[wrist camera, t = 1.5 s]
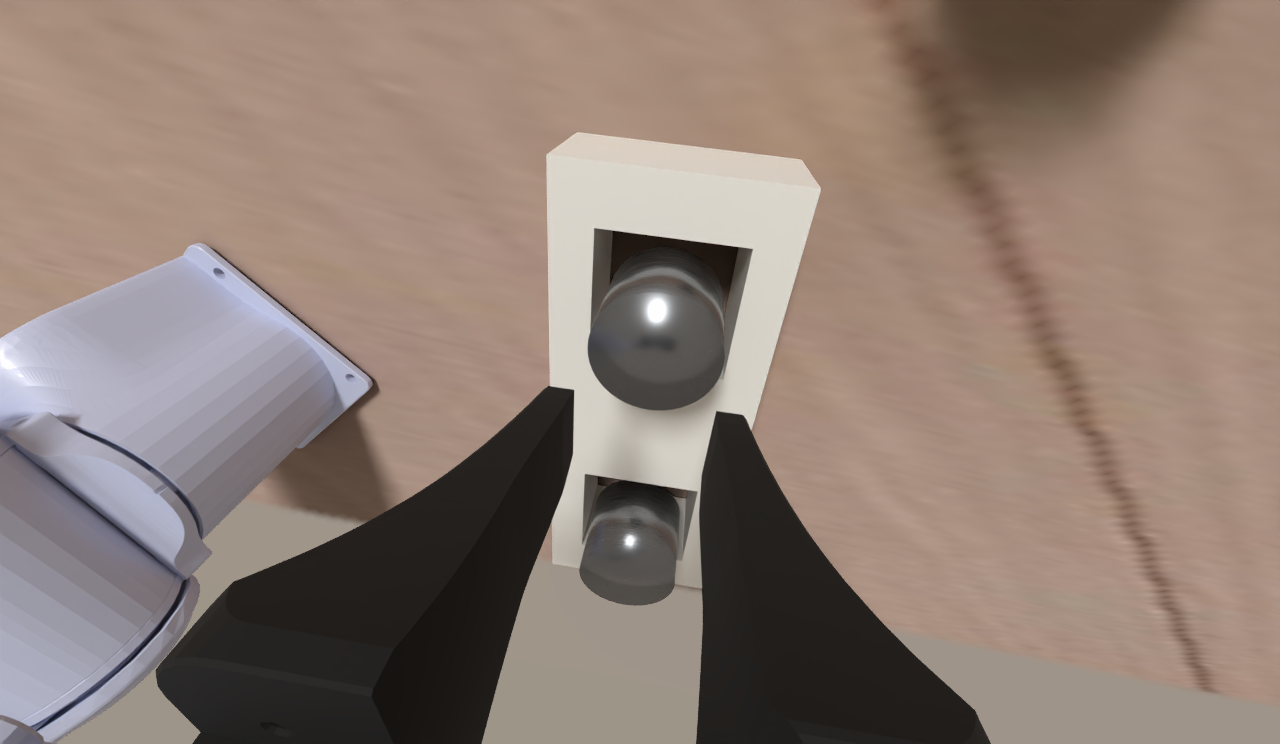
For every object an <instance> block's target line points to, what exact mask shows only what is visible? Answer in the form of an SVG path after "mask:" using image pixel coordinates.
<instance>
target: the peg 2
mask: <svg viewBox="0 0 1280 744" xmlns="http://www.w3.org/2000/svg"><path fill="white" fill-rule="evenodd" d="M679 518H680V509H679V505H678V503H677V501H676V500H675V498H674V497H673V496H672V495H671V494H670V493H669V492H668V491H666V490H665V489H663V488H662V487H660V486H658V485H653V484H646V483H640V482H634V481H627V480H623V481H618V482H615V483H613V484H610V485H609V486H607V487H605V488H604V489H603V490H602V491H601V492H600V494H599V495H598V498H597V501H596V505H595V509H594V513H593V517H592V521H591V524H590V528H589V532H588V536H587V540H586V544H585V548H584V552H583V556H582V560H581V564H580V569H579V570H580V576H581V579H582V581H583V582H584V584H585V585H586V586H587V587H588V588H589V589H590V590H591V591H592V592H594V593H595V594H597V595H599V596H600V597H602V598H604V599H607V600H609V601H613V602H616V603H620V604H625V605H647V604H652V603H655V602H658V601H661V600H663V599H664V598H666V597H667V596H668V595H669V594H670V593H671V592H672V590H673V588H674V585H675V572H676V559H677V545H678V531H679Z"/></svg>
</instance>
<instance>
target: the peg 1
mask: <svg viewBox="0 0 1280 744" xmlns="http://www.w3.org/2000/svg"><path fill="white" fill-rule="evenodd" d="M587 347H588V358H589V363H590V366H591V368H592V371H593V373H594V375H595V376H596V378H597V379H598V381H599V382H600V383H601V385H602V386H603V387H604V388H605V389H606V390H607V391H608V392H609V393H611V394H612V395H613V396H615V397H616V398H618V399H619V400H621V401H623V402H625V403H627V404H630V405H632V406H635V407H638V408H642V409H647V410H656V411H660V410H673V409H678V408H682V407H685V406H688V405H690V404H692V403H694V402H696V401H698V400H699V399H701V398H702V397H704V396H705V395H706V394H707V393H708V392H709V391H710V390H711V389H712V388H713V387H714V386H715V384H716V383H717V381H718V379H719V377H720V375H721V373H722V370H723V366H724V359H725V352H724V318H723V294H722V288H721V285H720V282H719V280H718V278H717V276H716V274H715V273H714V271H713V270H712V269H711V267H710V266H709V265H708V264H707V263H706V262H705V261H703V260H702V259H701V258H700V257H698V256H696V255H695V254H693V253H691V252H689V251H686V250H683V249H680V248H675V247H665V246H663V247H653V248H648V249H645V250H642V251H640V252H638V253H636V254H634V255H632V256H631V257H629V258H628V259H627V260H626V261H625V262H623V263H622V265H621V266H620V267H619V268H618V270H617V271H616V273H615V274H614V277H613V279H612V281H611V283H610V286H609V288H608V291H607V293H606V295H605V298H604V300H603V303H602V305H601V307H600V310H599V312H598V315H597V317H596V319H595V322H594V324H593V327H592V329H591V331H590V335H589V339H588V346H587Z"/></svg>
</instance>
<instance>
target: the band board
mask: <svg viewBox="0 0 1280 744" xmlns="http://www.w3.org/2000/svg"><path fill="white" fill-rule="evenodd" d="M820 191H821V188H820V186H819V185H818V183H817V182H816V180H815V179H814V178H813V176H812V175H811V173H810V172H809V170H808V169H807V167H806V166H805V164H804V163H803V161H802V160H801V159H793V158H785V157H777V156H769V155H760V154H752V153H744V152H736V151H728V150H719V149H711V148H703V147H695V146H687V145H678V144H670V143H662V142H654V141H646V140H637V139H629V138H621V137H613V136H605V135H596V134H588V133H580V132H577V133H575V134H574V135H573V136H571V137H570V138H569V139H567V140H566V141H564V142H563V143H562V144H560V145H559V146H558V147H556V148H555V149H553V150H552V151H551V152H549V153H548V154H547V221H548V287H549V354H550V386H552V387H558V388H565V389H572V390H574V432H573V456H572V460H571V464H570V468H569V472H568V476H567V479H566V483H565V487H564V490H563V493H562V496H561V498H560V501H559V504H558V506H557V509H556V511H555V514H554V516H553V519H552V553H553V564H556V565H563V566H568V567H574V568H580V564H581V560H582V556H583V552H584V548H585V544H586V540H587V536H588V532H589V528H590V524H591V521H592V517H593V513H594V509H595V505H596V501H597V498H598V495H599V494H600V492H601V491H602V490H603V489H604V488H605V487H607V486H602V485H597V484H598V476H602V477H608V478H615V479H621V480H627V481H634V482H640V483H646V484H653V485H659V486H666V487H672V488H678V489H685V490H688V491H687V496H686V499H684V498H678V497H674V498H675V500H676V501H677V503H678V505H679V509H680V518H679V531H678V545H677V559H676V572H675V584H676V585H682V586H688V587H694V588H700V589H702V575H701V552H700V528H699V506H700V492H701V478H702V471H703V467H704V462H705V458H706V454H707V449H708V445H709V440H710V436H711V432H712V427H713V423H714V419H715V414H716V411H720V412H727V413H734V414H740V415H743V416H744V417H745V418H746V420H747V422H748V424H749V427H750V429H751V430H752V427H753V423H754V420H755V416H756V413H757V410H758V406H759V403H760V399H761V396H762V392H763V389H764V385H765V382H766V378H767V375H768V371H769V368H770V364H771V361H772V357H773V354H774V350H775V347H776V344H777V340H778V337H779V333H780V330H781V326H782V323H783V319H784V316H785V312H786V309H787V305H788V302H789V298H790V295H791V291H792V288H793V284H794V281H795V278H796V274H797V271H798V267H799V264H800V260H801V257H802V253H803V250H804V246H805V243H806V239H807V236H808V232H809V229H810V225H811V222H812V218H813V215H814V212H815V208H816V205H817V201H818V198H819V194H820ZM613 231H621V232H628V233H636V234H643V235H651V236H659V237H666V238H674V239H681V240H689V241H697V242H704V243H712V244H720V245H727V246H735V247H739V249H738V254H737V259H736V263H735V268H734V273H733V278H732V282H731V287H730V292H729V297H728V301H727V306H726V311H725V316H724V352H725V359H724V366H723V370H722V373H721V375H720V377H719V379H718V381H717V383H716V384H715V386H714V387H713V388H712V389H711V390H710V391H709V392H708V393H707V394H706V395H705V396H704V397H702V398H701V399H699V400H698V401H696V402H694V403H692V404H690V405H688V406H685V407H682V408H678V409H673V410H660V411H656V410H647V409H642V408H638V407H635V406H632V405H630V404H627V403H625V402H623V401H621V400H619V399H618V398H616V397H615V396H613V395H612V394H611V393H609V392H608V391H607V390H606V389H605V388H604V387H603V386H602V385H601V383H600V382H599V381H598V379H597V378H596V376H595V375H594V373H593V371H592V368H591V366H590V363H589V358H588V347H587V346H588V339H589V335H590V331H591V329H592V327H593V324H594V322H595V319H596V317H597V315H598V312H599V310H600V307H601V305H602V303H603V300H604V298H605V295H606V293H607V291H608V288H609V286H610V270H611V253H612V237H613Z"/></svg>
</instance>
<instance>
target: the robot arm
mask: <svg viewBox="0 0 1280 744" xmlns="http://www.w3.org/2000/svg"><path fill="white" fill-rule="evenodd" d="M221 270H222V271H223V272H224V273H223V272H222V271H221ZM352 375H353V376H354V377H353V376H352ZM372 386H373V384H372V381H371V379H370V378H369V377H368V376H367V375H366V374H365V373H363V372H362V371H361V370H360V369H359V368H357V367H356V366H355V365H354V364H352V363H351V362H350V361H349V360H347V359H346V358H345V357H344V356H342V355H341V354H340V353H339V352H338V351H336V350H335V349H334V348H333V347H331V346H330V345H329V344H328V343H326V342H325V341H324V340H323V339H322V338H320V337H319V336H318V335H317V334H315V333H314V332H313V331H312V330H310V329H309V328H308V327H307V326H306V325H304V324H303V323H302V322H301V321H299V320H298V319H297V318H296V317H294V316H293V315H292V314H291V313H290V312H288V311H287V310H286V309H285V308H283V307H282V306H281V305H280V304H278V303H277V302H276V301H275V300H274V299H272V298H271V297H270V296H269V295H267V294H266V293H265V292H264V291H262V290H261V289H260V288H259V287H258V286H256V285H255V284H254V283H253V282H251V281H250V280H249V279H248V278H246V277H245V276H244V275H243V274H241V273H240V272H239V271H238V270H237V269H235V268H234V267H233V266H232V265H230V264H229V263H228V262H227V261H225V260H224V259H223V258H222V257H221V256H219V255H218V254H217V253H216V252H214V251H213V250H212V249H211V248H209V247H208V246H206V245H205V244H202V243H196V244H193V245H191V246H189V247H188V248H187V250H186V251H185V253H184V255H183V256H181V257H178V258H176V259H174V260H171V261H169V262H167V263H164V264H162V265H159V266H157V267H155V268H152V269H150V270H147V271H145V272H143V273H140V274H138V275H136V276H133V277H131V278H128V279H126V280H124V281H121V282H119V283H116V284H114V285H112V286H109V287H107V288H105V289H102V290H100V291H97V292H95V293H93V294H90V295H88V296H85V297H83V298H81V299H78V300H76V301H74V302H71V303H69V304H66V305H64V306H62V307H59V308H57V309H54V310H52V311H50V312H48V313H46V314H43V315H41V316H39V317H37V318H35V319H33V320H31V321H29V322H28V323H26V324H24V325H22V326H20V327H19V328H17V329H15V330H13V331H12V332H10V333H8V334H7V335H5V336H3V337H2V338H0V744H56V743H57V742H58V741H60V740H61V739H63V738H64V737H65V736H67V735H68V734H69V733H71V732H72V731H74V730H75V729H77V728H79V727H81V726H82V725H84V724H86V723H87V722H89V721H91V720H92V719H94V718H95V717H97V716H98V715H100V714H101V713H103V712H104V711H106V710H107V709H108V708H110V707H111V706H112V705H114V704H115V703H116V702H118V701H119V700H120V699H121V698H123V697H124V696H125V695H126V694H127V693H129V692H130V691H131V690H132V689H133V688H134V687H136V685H138V684H139V683H140V682H141V681H142V680H143V679H144V678H145V677H146V676H147V675H148V674H149V673H150V672H151V671H152V670H153V669H154V668H155V667H156V666H157V665H158V664H159V663H160V662H161V661H162V660H163V658H164V657H165V656H166V655H167V654H168V653H169V652H170V650H171V649H172V648H173V647H174V645H175V644H176V643H177V641H178V640H179V638H180V637H181V635H182V634H183V632H184V631H185V629H186V627H187V625H188V623H189V621H190V619H191V616H192V613H193V611H194V608H195V606H196V604H197V601H198V597H199V593H200V584H199V583H198V581H197V579H196V577H194V576H193V575H192V574H193V573H194V572H195V571H196V570H197V569H198V568H199V567H200V566H201V564H203V563H204V561H205V560H206V559H207V558H208V557H209V556H210V555H211V554H212V551H211V550H210V549H209V548H208V547H207V546H206V545H205V544H204V543H203V541H202V540H203V539H204V538H205V537H206V536H207V535H208V534H209V533H210V532H211V531H212V530H213V529H214V528H215V527H216V526H217V525H218V524H219V523H220V522H221V521H222V520H223V519H224V518H225V517H226V516H227V515H228V514H229V513H230V512H231V511H232V510H233V509H234V508H235V507H236V506H237V505H238V504H239V503H240V502H241V501H242V500H243V499H244V498H245V497H246V496H247V495H248V494H249V493H250V492H251V491H252V490H253V489H254V488H255V487H256V486H257V485H258V484H259V483H260V482H261V481H262V480H263V479H264V478H265V477H266V476H268V475H269V474H270V473H271V472H272V471H273V470H274V469H275V468H276V467H277V466H278V465H279V464H280V463H281V462H282V461H283V460H284V459H285V458H286V457H287V456H288V455H289V454H290V453H291V452H292V451H293V450H294V449H295V448H304V447H305V446H306V445H307V444H308V443H309V442H310V441H312V440H313V439H314V438H315V437H316V436H317V435H318V434H319V433H321V432H322V431H323V430H324V429H325V428H326V427H327V426H329V425H330V424H331V423H332V422H333V421H334V420H335V419H337V418H338V417H339V416H340V415H341V414H342V413H343V412H345V411H346V410H347V409H348V408H349V407H350V406H351V405H353V404H354V403H355V402H356V401H357V400H358V399H359V398H361V397H362V396H363V395H364V394H365V393H366V392H367V391H368V390H369V389H370V388H371V387H372ZM573 432H574V390H572V389H565V388H558V387H552V386H548V387H547V388H545V389H544V390H543V391H542V392H541V393H540V394H539V395H538V396H537V397H536V398H535V399H534V400H533V401H532V402H531V403H530V404H529V405H528V406H527V407H526V408H524V409H523V410H522V411H521V412H520V413H519V414H518V415H517V416H516V417H515V418H514V419H513V420H512V421H511V422H509V423H508V424H507V425H506V426H505V427H504V428H503V429H502V430H500V431H499V432H498V433H497V434H496V435H495V436H494V437H492V438H491V439H490V440H489V441H488V442H487V443H485V444H484V445H483V446H482V447H480V448H479V449H478V450H477V451H475V452H474V453H473V454H472V455H470V456H469V457H468V458H466V459H465V460H464V461H463V462H461V463H460V464H459V465H458V466H456V467H455V468H453V469H452V470H451V471H449V472H448V473H447V474H445V475H444V476H442V477H441V478H439V479H438V480H437V481H435V482H434V483H432V484H431V485H429V486H428V487H426V488H425V489H423V490H422V491H420V492H418V493H417V494H415V495H414V496H412V497H410V498H409V499H407V500H405V501H404V502H402V503H400V504H399V505H397V506H395V507H393V508H392V509H390V510H388V511H386V512H385V513H383V514H381V515H379V516H378V517H376V518H374V519H372V520H371V521H369V522H367V523H365V524H363V525H361V526H359V527H357V528H355V529H353V530H351V531H349V532H347V533H345V534H343V535H341V536H339V537H337V538H335V539H333V540H331V541H329V542H326V543H325V544H322V545H320V546H318V547H316V548H314V549H311V550H309V551H307V552H305V553H302V554H300V555H298V556H296V557H293V558H291V559H288V560H286V561H283V562H281V563H279V564H276V565H274V566H271V567H269V568H267V569H264V570H262V571H259V572H257V573H255V574H252V575H250V576H247V577H245V578H242V579H240V580H237V581H234V582H233V583H232V584H231V585H230V586H229V587H228V588H227V589H226V590H225V591H224V592H223V593H222V594H221V595H220V596H219V597H218V598H217V599H216V601H215V602H214V603H213V604H212V605H211V606H210V607H209V608H208V609H207V610H206V612H205V613H204V614H203V615H202V616H201V617H200V619H199V620H198V621H197V622H196V623H195V624H194V625H193V627H192V628H191V629H190V630H189V631H188V632H187V634H186V635H185V636H184V637H183V638H182V639H181V641H180V642H179V643H178V644H177V645H176V647H174V649H173V650H172V651H171V652H170V653H169V655H167V657H166V658H165V659H164V660H163V661H162V663H161V664H160V665H159V666H158V668H157V669H156V678H157V684H158V687H159V688H160V690H161V691H162V692H163V694H164V695H165V697H166V698H167V699H168V700H169V701H170V702H171V703H172V704H173V705H174V706H175V707H176V708H177V709H178V710H179V711H180V712H181V713H182V714H183V715H184V716H185V717H186V718H187V719H188V720H189V721H190V722H191V723H192V724H193V725H194V726H195V727H196V728H197V729H198V730H199V731H200V732H201V733H200V734H199V735H198V737H197V738H196V739H195V741H194V742H193V744H481V743H482V739H483V735H484V731H485V728H486V724H487V720H488V717H489V713H490V709H491V705H492V702H493V698H494V694H495V690H496V686H497V683H498V679H499V676H500V672H501V669H502V665H503V662H504V658H505V654H506V651H507V647H508V644H509V640H510V637H511V633H512V630H513V627H514V623H515V620H516V616H517V613H518V609H519V606H520V602H521V599H522V596H523V593H524V590H525V587H526V585H527V582H528V579H529V576H530V574H531V571H532V569H533V566H534V563H535V561H536V559H537V556H538V554H539V551H540V549H541V546H542V544H543V541H544V539H545V536H546V534H547V531H548V529H549V526H550V524H551V521H552V519H553V516H554V514H555V511H556V509H557V506H558V504H559V501H560V498H561V496H562V493H563V490H564V487H565V483H566V479H567V476H568V472H569V468H570V464H571V460H572V456H573ZM699 528H700V552H701V575H702V598H703V635H702V655H701V674H700V691H699V708H698V709H699V710H698V725H697V740H696V744H991V743H990V741H989V739H988V737H987V735H986V733H985V731H984V729H983V727H982V725H981V723H980V721H979V718H978V716H977V714H976V711H975V710H974V709H973V708H972V707H971V706H970V705H968V704H967V703H966V702H965V701H964V700H963V699H962V698H961V697H960V696H959V695H957V694H956V693H955V692H954V691H953V690H952V689H951V688H950V687H949V686H947V685H946V684H945V683H944V682H943V681H942V680H941V679H940V678H939V677H938V676H936V675H935V674H934V673H933V672H932V671H931V670H930V669H929V668H928V667H927V666H925V665H924V664H923V663H922V662H921V661H920V660H919V659H918V658H917V657H916V656H915V655H914V654H913V653H912V652H911V651H909V649H908V648H907V647H906V646H905V645H904V644H903V643H902V642H901V641H900V640H899V639H898V638H897V637H896V636H895V635H894V634H893V633H892V632H891V631H890V630H889V629H888V628H887V627H886V626H885V625H884V624H883V623H882V622H881V621H880V620H879V619H878V618H877V617H876V615H875V614H874V613H873V612H872V611H871V610H870V609H869V608H868V606H867V605H866V604H865V603H864V602H863V601H862V600H861V599H860V597H859V596H858V595H857V594H856V593H855V592H854V591H853V590H852V588H851V587H850V586H849V585H848V584H847V583H846V582H845V580H844V579H843V578H842V577H841V575H840V574H839V573H838V572H837V570H836V569H835V568H834V567H833V565H832V564H831V563H830V562H829V560H828V559H827V558H826V556H825V555H824V554H823V552H822V551H821V550H820V548H819V547H818V546H817V544H816V543H815V542H814V540H813V539H812V537H811V536H810V535H809V533H808V532H807V530H806V529H805V527H804V526H803V524H802V523H801V521H800V520H799V518H798V517H797V515H796V513H795V512H794V510H793V509H792V507H791V506H790V504H789V502H788V501H787V499H786V497H785V496H784V494H783V492H782V491H781V489H780V487H779V485H778V483H777V482H776V480H775V478H774V476H773V474H772V473H771V471H770V469H769V467H768V465H767V463H766V461H765V459H764V457H763V455H762V453H761V451H760V449H759V447H758V445H757V443H756V441H755V438H754V436H753V434H752V432H751V429H750V427H749V424H748V422H747V420H746V418H745V417H744V416H743V415H740V414H734V413H727V412H720V411H716V414H715V419H714V423H713V427H712V432H711V436H710V440H709V445H708V449H707V454H706V458H705V462H704V467H703V471H702V478H701V492H700V506H699Z"/></svg>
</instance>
